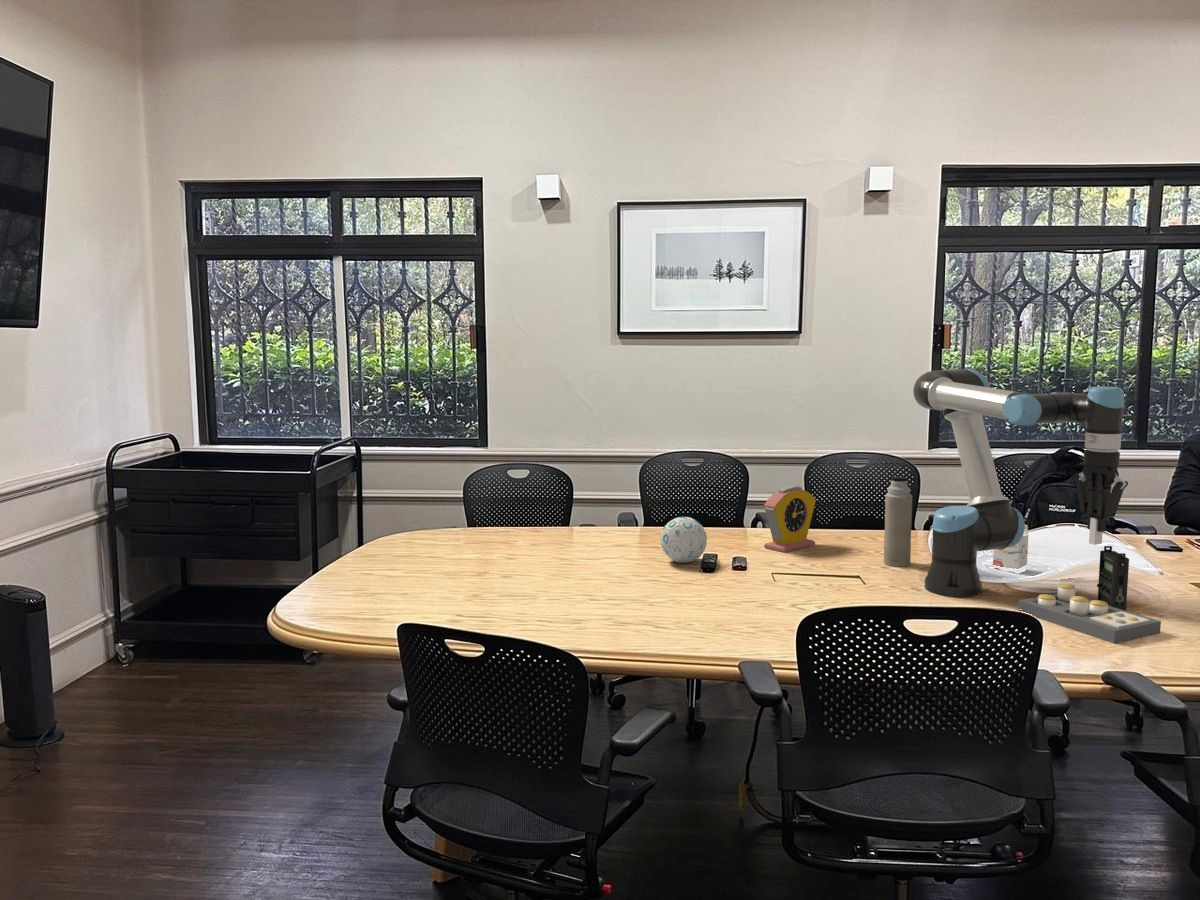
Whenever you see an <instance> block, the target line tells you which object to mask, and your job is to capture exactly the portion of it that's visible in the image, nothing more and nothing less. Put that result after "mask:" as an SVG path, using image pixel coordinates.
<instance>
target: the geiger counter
mask: <svg viewBox="0 0 1200 900" xmlns="http://www.w3.org/2000/svg"><path fill="white" fill-rule="evenodd" d="M1129 567H1130V558H1128V557H1127V556H1126V553H1125V552H1123V553H1122V552H1121V553H1119V552H1117V551H1115V550H1113V546H1112V545H1107V546H1106V545H1104V547H1103V550H1099V568H1098V569H1099V570H1098V583H1097V584H1096V587H1097V600H1099V601H1104V602H1106V603H1107V605H1108V606H1111V607H1114V608H1118V609H1121V610H1124V611H1127V603H1128V599H1127V598H1128V585H1129V584H1128V583H1129V570H1130V569H1129Z"/></svg>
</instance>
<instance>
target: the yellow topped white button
mask: <svg viewBox="0 0 1200 900" xmlns="http://www.w3.org/2000/svg"><path fill="white" fill-rule="evenodd" d="M1089 610H1092V611H1095V612H1099V613H1104V612H1108V605H1107V603H1106V602H1104V601H1099V600H1098V599H1094V600H1093V599H1092V600H1090V603H1089Z"/></svg>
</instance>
